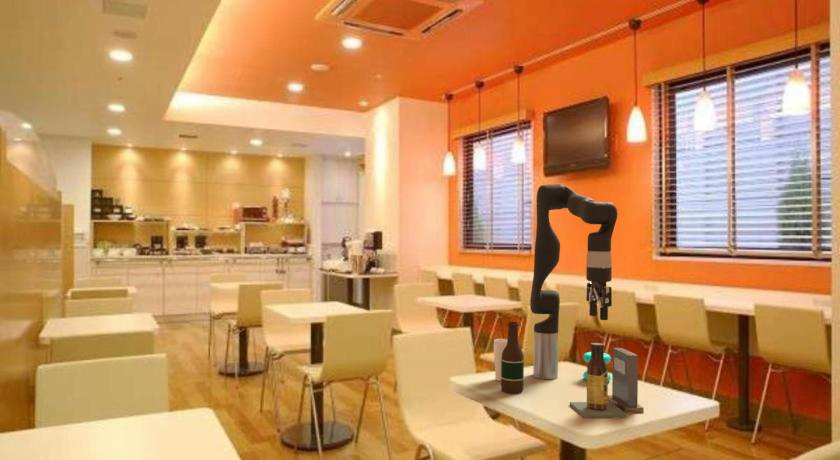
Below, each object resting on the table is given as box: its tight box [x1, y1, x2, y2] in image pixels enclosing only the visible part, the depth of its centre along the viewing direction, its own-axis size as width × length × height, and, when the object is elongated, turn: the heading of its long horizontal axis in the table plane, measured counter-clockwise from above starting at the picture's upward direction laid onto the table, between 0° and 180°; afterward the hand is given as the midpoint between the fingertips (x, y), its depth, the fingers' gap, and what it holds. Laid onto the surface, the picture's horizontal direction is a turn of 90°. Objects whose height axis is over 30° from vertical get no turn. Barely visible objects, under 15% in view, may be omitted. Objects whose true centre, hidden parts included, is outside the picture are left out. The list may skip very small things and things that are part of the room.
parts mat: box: [569, 401, 627, 419], centre depth 183 cm, size 13×13×1 cm
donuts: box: [582, 351, 612, 382], centre depth 222 cm, size 10×10×10 cm
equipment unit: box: [608, 347, 644, 414], centre depth 189 cm, size 14×6×18 cm, turn 5°
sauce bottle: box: [586, 342, 609, 410], centre depth 183 cm, size 6×6×20 cm
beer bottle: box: [500, 321, 525, 395], centre depth 205 cm, size 8×8×24 cm
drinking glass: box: [493, 338, 508, 382], centre depth 220 cm, size 7×7×15 cm
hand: (598, 317), depth 183 cm, fingers open, 8 cm apart
